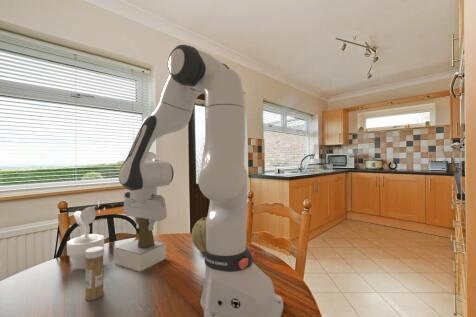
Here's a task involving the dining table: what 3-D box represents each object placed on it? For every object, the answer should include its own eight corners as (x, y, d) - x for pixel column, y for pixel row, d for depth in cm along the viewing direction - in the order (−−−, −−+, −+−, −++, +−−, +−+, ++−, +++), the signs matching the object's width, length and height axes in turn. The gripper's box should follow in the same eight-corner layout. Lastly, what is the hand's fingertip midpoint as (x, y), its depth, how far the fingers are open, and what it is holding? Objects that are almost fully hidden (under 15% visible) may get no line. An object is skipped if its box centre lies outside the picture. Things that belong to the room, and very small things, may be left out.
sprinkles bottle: (104, 297, 63) (104, 249, 64) (85, 303, 61) (85, 253, 61) (103, 289, 67) (103, 244, 67) (84, 295, 64) (84, 248, 65)
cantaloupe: (233, 249, 98) (232, 215, 98) (210, 261, 86) (210, 222, 86) (208, 242, 106) (208, 210, 107) (184, 252, 94) (184, 217, 95)
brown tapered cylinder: (148, 248, 83) (147, 218, 84) (134, 247, 84) (133, 218, 85) (157, 242, 89) (156, 214, 89) (144, 242, 90) (143, 214, 91)
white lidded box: (165, 258, 89) (165, 243, 89) (139, 271, 78) (139, 254, 78) (141, 252, 95) (141, 238, 95) (114, 263, 85) (114, 247, 85)
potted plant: (110, 264, 84) (110, 197, 84) (73, 277, 75) (73, 201, 75) (95, 256, 91) (95, 194, 92) (60, 267, 82) (60, 198, 82)
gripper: (170, 194, 86) (170, 230, 85) (134, 191, 95) (134, 224, 95) (157, 196, 80) (157, 235, 80) (120, 193, 89) (120, 227, 89)
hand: (144, 229), depth 87 cm, fingers open, 5 cm apart
